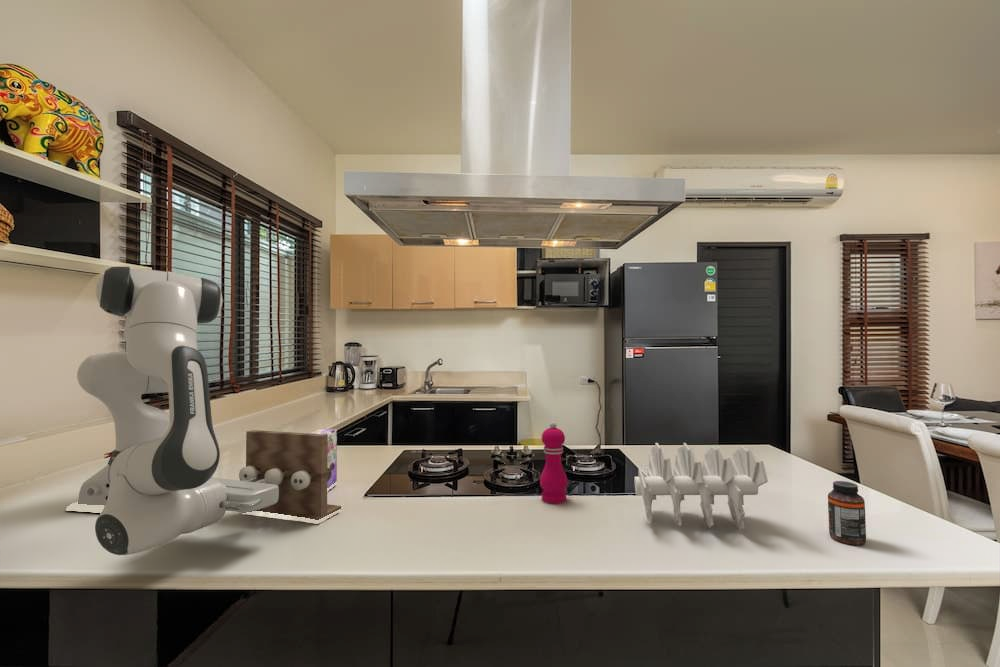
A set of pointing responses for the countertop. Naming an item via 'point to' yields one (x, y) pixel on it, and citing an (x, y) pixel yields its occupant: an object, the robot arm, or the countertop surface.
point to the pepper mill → (553, 466)
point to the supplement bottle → (846, 514)
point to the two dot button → (301, 480)
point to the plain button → (274, 476)
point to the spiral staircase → (701, 480)
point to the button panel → (293, 469)
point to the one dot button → (249, 473)
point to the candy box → (330, 454)
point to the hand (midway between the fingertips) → (261, 482)
